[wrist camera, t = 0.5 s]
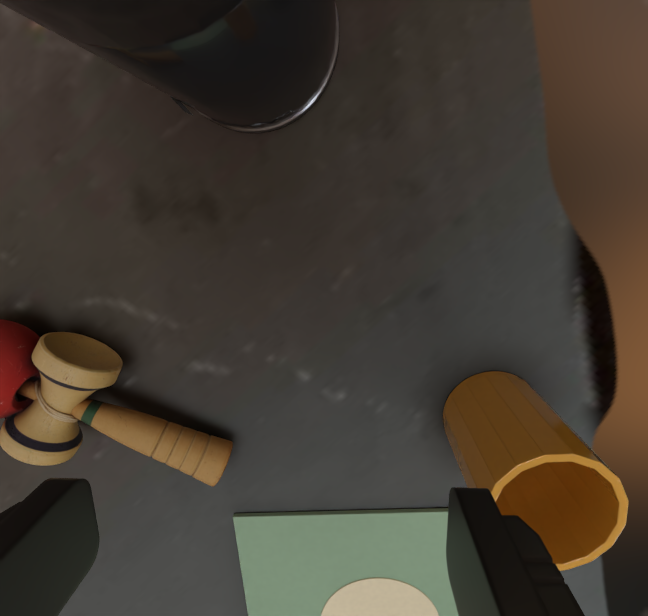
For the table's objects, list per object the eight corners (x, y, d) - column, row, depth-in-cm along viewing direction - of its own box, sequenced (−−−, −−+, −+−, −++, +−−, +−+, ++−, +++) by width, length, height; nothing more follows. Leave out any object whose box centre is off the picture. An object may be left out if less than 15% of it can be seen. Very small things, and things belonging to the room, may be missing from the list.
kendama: (257, 386, 30) (-15, 272, 26) (240, 457, 24) (-110, 325, 20) (216, 457, 33) (-30, 365, 29) (193, 534, 27) (-116, 432, 24)
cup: (442, 373, 27) (485, 456, 19) (542, 368, 27) (635, 451, 18) (442, 458, 29) (483, 572, 20) (537, 455, 28) (621, 570, 20)
